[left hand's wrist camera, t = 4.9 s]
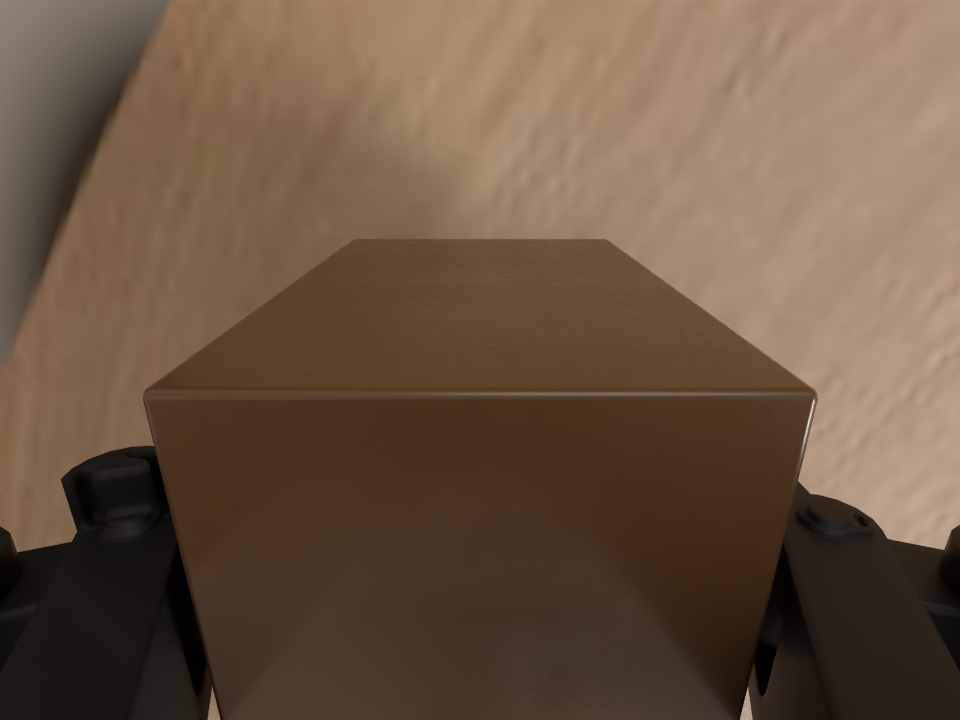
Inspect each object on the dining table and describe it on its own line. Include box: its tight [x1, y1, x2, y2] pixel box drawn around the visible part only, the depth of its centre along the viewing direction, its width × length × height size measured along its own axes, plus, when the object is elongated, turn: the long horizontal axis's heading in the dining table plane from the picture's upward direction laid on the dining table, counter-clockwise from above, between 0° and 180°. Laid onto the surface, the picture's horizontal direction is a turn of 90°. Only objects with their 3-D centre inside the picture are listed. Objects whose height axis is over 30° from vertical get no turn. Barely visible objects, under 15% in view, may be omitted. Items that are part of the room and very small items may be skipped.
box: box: [143, 239, 817, 720], centre depth 13 cm, size 20×6×9 cm, turn 0°
